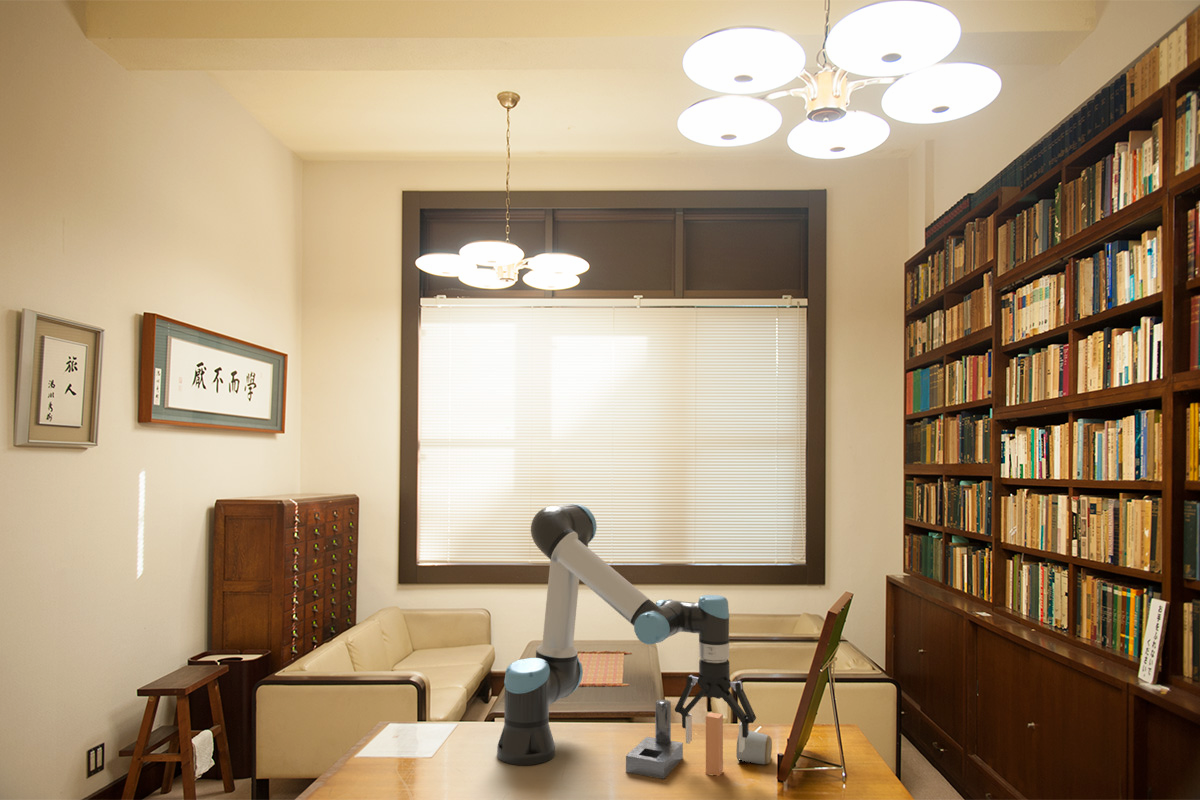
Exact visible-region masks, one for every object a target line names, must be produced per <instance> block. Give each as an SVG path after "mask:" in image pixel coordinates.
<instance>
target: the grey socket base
mask: <svg viewBox="0 0 1200 800" xmlns="http://www.w3.org/2000/svg"><path fill="white" fill-rule="evenodd" d="M671 707H672V702H671V701H670V700H668V699H657V700H656V701H655V716H654V717H655V724H654V725H655V729H654V730H655V731H654V732H655V733H654V734H655V735H654V737H650V736H645V738H643V739H642V740H641V741H640V742H639V743H638V744H637V745H636V746H634V748H633V749H632V750H631V751H629V752H628V753H627V754H626V755H625V773H628V774H633V775H638V774H640V775H639V776H643V775H645V777H648V776H652V777H651V778H653V777H658V778H657V779H659V778H663V779H662V780H665V779H666V778H667V777H666V776H668V775H670V773H671V772H672V771H673V770H674V769H675V768H674V767H675V766H678V764H680V762H682V760H683V759H684V757H683V754H684V753H683V752H684V749H683V748H684V747H683V746H684V744H683V743H684V742H680V741H674V740H672V739H671V738H672V733H671V732H672V731H671V729H672V728H671V727H672V723H671V719H672V713H671V712H672V708H671ZM682 758H683V759H682ZM681 759H682V760H681ZM673 768H674V769H673ZM672 769H673V770H672ZM671 770H672V771H671ZM665 777H666V778H665ZM664 778H665V779H664Z"/></svg>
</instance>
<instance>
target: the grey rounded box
mask: <svg viewBox="0 0 1200 800" xmlns="http://www.w3.org/2000/svg"><path fill="white" fill-rule="evenodd" d="M772 748H773V740H772V738H771V736H770V735H769V734H765V733H763V732H762V733H761V732H757V731H753V730H749V734H748V736H747V738H745V749H744V750H743V752H739V733H738V734H737V740H736V760H737V761H739V759H740V760H742V761H741V762H744V761H745V763H750V762H751V763H753V764H758V765H768V764H769V763H770V762H771V757H772V751H773V749H772Z"/></svg>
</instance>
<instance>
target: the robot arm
mask: <svg viewBox="0 0 1200 800" xmlns="http://www.w3.org/2000/svg"><path fill="white" fill-rule="evenodd" d="M530 524H531V525H530V534H531V535H530V536H531V538H532V540H533V543H534V544H535V546H536V547H537V548H538V550H540V552H541V553H542V554H544V555H545V556H546V557H547V558H548V559H549V571H548V582H547V592H546V601H545V613H544V623H543V634H542V642H541V643H540V644H539V645H538V646H536V651H535V657H525V658H524V659H523V658H521V659H517V660H515V661H513V662H511V663H510V664H509V665H507V667H506V670H505V675H504V681H503V683H504V721H503V724H504V725H503V728H502V731H501V733H500V736H499V740H498V743H497V746H496V747H497V748H496V749H497V750H496V751H497V752H496V756H497V759H499V760H500V761H502V762H504V763H506V764H509V765H515V766H533V765H539V764H542V763H543V764H544V763H546V762H548V761H550V760H551V759H553V758H554V757H555V755H556V743H555V741H554V737H553V733H552V730H551V727H550V726H551V725H550V723H549V722H550V721H549V719H550V717H549V715H550V714H549V713H550V709H549V708H550V705H552V704H554V703H555V702H557V701H559V700H562V699H564V698H566V697H568V696H570V695H571V694H572V693H573V692H575V691H576V690H577V689H578V687H579V686H580V685H581V682H582V680H583V671H584V669H583V666H582V662H580V659H579V657H578V653H579V652H578V649H577V648H576V646H574V640H575V629H576V617H577V616H576V615H577V607H578V597H579V596H578V595H579V587H580V586H579V585H580V581H581V582H582V583H583V584H585V586H586V587H588V588H589V589H590V590H591V591H592V592H593V593H595V594H596V595H597V596H598V597H599V598H600V599H602V600H603V601H604V602H605V603H607V605H609V606H610V607H611V608H612V609H613V610H615V611H616V612H617V613H618V614H619V615H620V616H621V617H623V618H624V619H625V620H626V621H627V622H629V623H630V625H632V626H633V628H634V633H635V635H636V638H637V639H638V640H639V641H640V642H641V643H643V644H644V645H654V644H655V645H656V644H658V643H662V642H664V641H665V640H666V639H668V638H670V637H672V636H674V635H676V634H678V633H680V632H681V633H682V632H683V633H691V634H698V650H699V651H698V653H699V655H698V657H699V658H700V659H699V661H698V663H699V664H698V669H699V670H698V671H699V672H698V673H699V674H698V675H699V676H698V677H697V676H695V675H694V674H690V675H688V676H687V678H686V685H685V687H684V690H683V691H682V693H681V695H680V697H679V699H678V701H677V704H676V705H675V708H674V712H675V713H679V714H681V723H682V724H681V728H682V729H685V744H690V743H691V742H692V741H693V714H692V713H690V711H691V710H692V709H693V708H694V707H695V706H696V705H697V703H698V702H699V701H700V700H701V699H702V698H703V697H704V696H706V697H707V698H709V699H711V698H714V699H723V701H724V702H725V703H726V704H727V705H728V707H729V708H730V710H732V712H733V713H734V714H735V716H736V717H737V718H738V720H739V721H740V722H739V724H738V734H739V752H743V750H744V749H745V738H747V736H748V734H749V731H750V730H749V729H750V728H749V724H753V723H755V721H756V720H757V716H756V714H755V712H754V710H753V708H752V705H751V703H750V701H749V699H748V697H747V695H746V692H745V690H744V686H743V684H744V683H743V680H738V681H731V677H730V676H731V675H730V661H729V659H730V612H729V610H730V609H729V601H728V599H727V598H726V596H723V595H718V594H713V595H712V594H706V595H705V594H704V595H701V596H699V598H698V602H690V601H682V600H673V599H659V600H657V601H656V602H653V601H652V600H651V599H650V598H649V597H647V595H645V594H644V593H643V592H642V591H640V590H639V589H638V588H637V587H636V586H634V585H633V584H632V583H631V582H630V581H629V580H627V579H626V578H625V577H624V576H622V575H621V574H620V573H619V571H616V570H615V569H614V568H613V567H612V566H611V565H609V564H608V562H606V561H605V560H603V559H602V558H601V557H600V556H598V554H596V553H595V552H594V551H593V550H591V549H590V547H589V543H590V542H591V541H592V540H593V539H594V537H595V535H596V532H597V527H598V526H597V520H596V518H595V516H594V514H593V513H592V512H591V510H590V509H589V508H588V507H587V506H585V505H583V504H576V503H566V504H560V505H551V506H547V507H544V508H542V509H541V510H538V512H537V513H536V514H534V517H533V518H532V520H531V523H530ZM696 683H697V684H698V686H699V688H700V690H699V692H698V693H697V694H696V695H695V696H694V697H693V699H692V700H691V701H690V702H689V703H688V704H687V705H686V706H685V707H684V705H685V704H686V702H687V699H688V697H689V695H690V694H691V691H692V689H693V686H695V685H696ZM730 688H732V689H733V691H734V692H735V693H736V696H737V698H738V700H739V703H740V705H741V706H740V705H739V703H738V702H737V700H735V698H734V697H733V694H732V693H731V691H730Z"/></svg>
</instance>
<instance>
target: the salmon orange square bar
mask: <svg viewBox="0 0 1200 800" xmlns="http://www.w3.org/2000/svg"><path fill="white" fill-rule="evenodd" d="M723 716H724V714H723V713H716V712H711V711H710V712H708V713H707V715H706V716H705V775H708V774H713V775H717V776H716V777H718V776H719V775H720V774H721V775H722V773H723V772H724V734H723V733H724V726H723V725H724V724H723V723H724V717H723ZM722 771H723V772H722ZM721 772H722V773H721ZM713 775H712V776H713ZM721 775H720V776H721ZM720 776H719V777H720Z"/></svg>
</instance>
